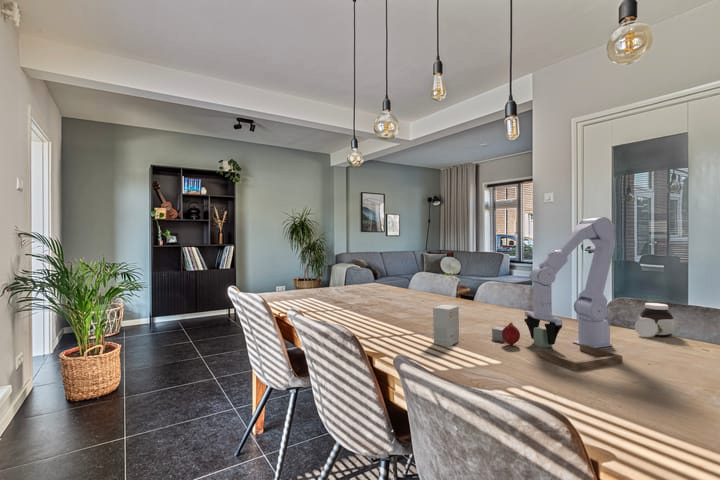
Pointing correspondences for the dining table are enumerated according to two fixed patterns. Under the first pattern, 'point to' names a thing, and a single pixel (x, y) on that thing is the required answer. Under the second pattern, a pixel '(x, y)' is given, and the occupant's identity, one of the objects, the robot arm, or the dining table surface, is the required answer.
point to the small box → (446, 324)
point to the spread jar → (655, 321)
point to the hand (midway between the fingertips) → (542, 341)
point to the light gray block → (497, 333)
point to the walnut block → (604, 359)
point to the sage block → (541, 337)
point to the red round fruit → (511, 334)
